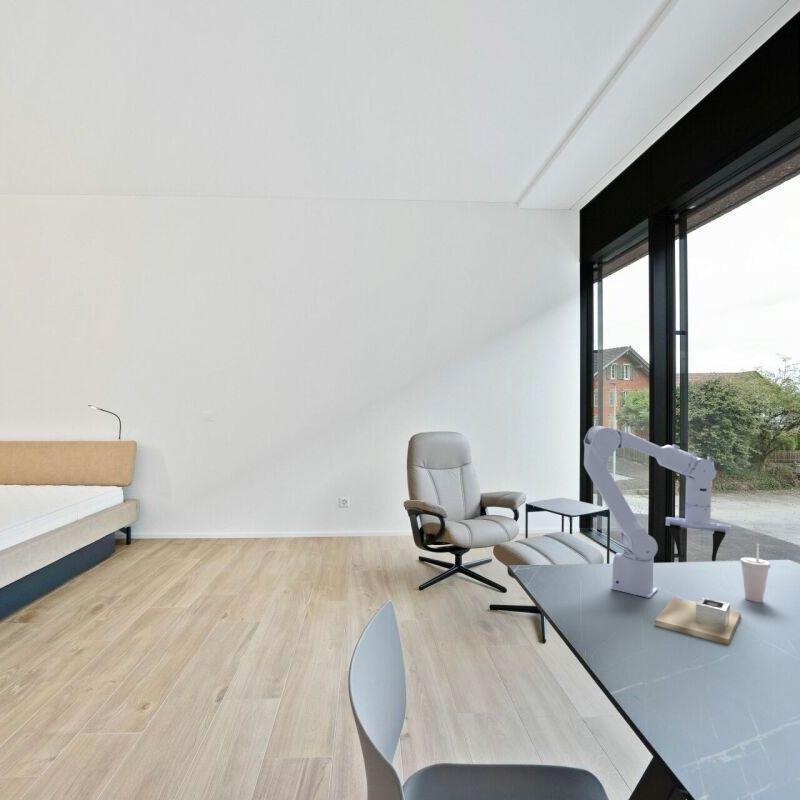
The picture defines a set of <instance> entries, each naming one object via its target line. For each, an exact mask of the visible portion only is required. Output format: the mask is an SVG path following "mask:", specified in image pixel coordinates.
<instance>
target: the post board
mask: <svg viewBox="0 0 800 800" xmlns="http://www.w3.org/2000/svg"><path fill="white" fill-rule="evenodd" d="M697 602H698V601H697ZM697 602H696V601H693V600H689V599H684V598H679V597H675V596H674V597H673V598H672V599H671V600H670V601H669V602H668V603H667V605H665V607H664V608H663V609H662V610H661V611H660V613H658V615H657V616H656V618H655V619H654V626H656V627H660V628H663V629H666V630H667V629H668V630H671V631H676V632H679V633H682V634H686V635H690V636H694V637H698V638H702V639H705V640H709V641H713V642H716V643H719V644H722V645H723V644H724V645H727V646H728V645H729V644H730V642H731V640H732V638H733V635H734V633H735V632H736V629H737V626H738V624H739V622H740V621H741V616H742V612H740V611H736V610H731V609H730V616H729V623H728V625H727V627H726V629H725V630H724V629H720V628H716V627H712V626H708V625H705V624H701V623H697V622H696V603H697ZM707 605H709V606H713V607H718V608H720V606H718V604H715V603H710V602H709V603H708V604H707Z"/></svg>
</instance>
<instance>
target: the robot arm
mask: <svg viewBox="0 0 800 800" xmlns="http://www.w3.org/2000/svg"><path fill="white" fill-rule="evenodd" d="M583 446H584V448H583V449H584V451H583V454H584V455H583V466H584V468H585V470H586V473H587V474H588V476H589V478H590V480H591V481H592V482H593V483H592V484H593V485H594V487H595V488H596V490H597V491H598V493H599V494H600V496H601V498H602V500H603V502H604V503H605V505H606V507H607V509H608V511H609V512H610V514H611V516H612V518H613V519H614V521H615V523H616V524H617V529H618V531H619V533H620V542H621V544H622V545H623V547H624V550H623V553H622V552H616V553H615V555H614V557H613V560H612V575H611V576H612V582H611V583H612V584H611V585H612V586H611V590H615V591H619V592H623V593H626V594H631V595H635V596H640V597H643V598H647V599H650V598H652V597H653V595H654V594H655V593H656V592H657V591H658V590H659V589H658V587H655V586H654V566H655V565H654V564H655V563H654V561H655V559H654V557H656V555H657V553H658V550H659V549H658V547H659V546H658V543H657V541H656V539H655V538H654V537H653V536H651V535H649V534H648V533H647V531H646V529H645V528H644V526H642V524H641V523H640V522H639V521H638V519H637V516H635V513H634V512H633V511H632V509H631V507H630V506H629V504H628V502H627V500H626V498H625V497H624V494H623V492H621V490H620V488H619V486H618V484H617V483H616V481H615V479H614V478H613V475H612V474H611V472H610V471H609V468H608V467H607V465H608V463H609V460H610V458H611V456H612V455H613V454H614V453H615V452H616V450H617V449H622V450H623V449H627V448H630V449H631V450H635V451H637V452H640V453H643V454H645V455H648V456H650V457H653V458H655V459H656V462H657V464H658V465H659V466H661V467H664V468H665V469H668V470H671V471H673V472H676V473H678V474H680V475H684V476H685V504H684V507H685V508H684V518H683V517H670V516H666V517H665V526H668V527H669V532H670V534H671V536H672V538H673V541H674V543H675V547H676V550H677V551H676V552H677V556H682V554H683V542H682V541H683V528H686V529H693V530H700V531H706V532H713V534H712V553H711V562H716V560H717V554H718V551H719V548H720V545H722V541H724V538H725V536H726V535H731V531H732V526H731V525H729V524H725V523H724V524H723V523H719V522H713V521H711V512H712V511H711V510H712V509H711V507H712V481H713V480H714V479H715V478H716V475H717V472H718V471H717V470H716V468H715V465H714V464H713V462H711V461H710V460H708V459H706V458H703V457H702V458H701V457H698V456H697V455H698V454H697V453H694V452H691V453H690V452H687V451H685V450H683V449H680V446H679V445H677V444H672V445H670V444H666V445H664V446H663V445H662V446H660V445H658V444H655V443H653V442H650V441H648V440H646V439H645V438H642V437H639V436H637V435H635V434H633V433H630V432H627V431H624V430H619V429H615V428H612V427H606V426H603V425H593V426H592V427H590V428H589V429H588V431H587V432H586V435H585V437H584V439H583Z"/></svg>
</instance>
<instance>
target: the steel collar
mask: <svg viewBox="0 0 800 800" xmlns="http://www.w3.org/2000/svg"><path fill="white" fill-rule="evenodd" d="M709 602H710V603H715V604H718V606H720V608H718V607H713V606H709V605H707V604H708V603H709ZM730 607H731V604H730V602H726V601H721V600H716V599H712V598H708V597H703V596H700V598H699V599H698V601H697V603H696V622H697V623H701V624H705V625H708V626H712V627H716V628H720V629H724V630H725V629H726V627H727V625H728V623H729V616H730V610H731V609H730Z"/></svg>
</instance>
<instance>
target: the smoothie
mask: <svg viewBox="0 0 800 800" xmlns="http://www.w3.org/2000/svg"><path fill="white" fill-rule="evenodd" d="M755 556H756V558H755V557H741V558H740V561H739V563H740V564H741V570H742V572H741V573H742V578H743V588H744V596H745V597H744V598H745V599H746V600H748V601H750V602H754V603H762V602H764V599H765V591H766V586H767V580H768V579H767V578H768V574H769V569H771V563H770V562H769V561H767V560H765V559H762V558H760V543H756V555H755Z"/></svg>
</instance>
